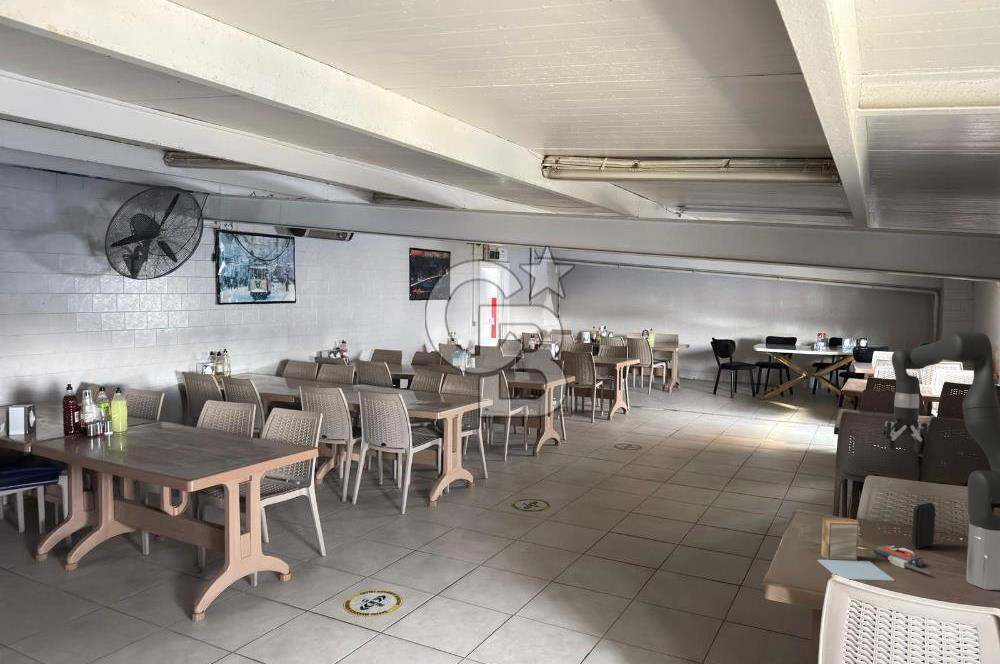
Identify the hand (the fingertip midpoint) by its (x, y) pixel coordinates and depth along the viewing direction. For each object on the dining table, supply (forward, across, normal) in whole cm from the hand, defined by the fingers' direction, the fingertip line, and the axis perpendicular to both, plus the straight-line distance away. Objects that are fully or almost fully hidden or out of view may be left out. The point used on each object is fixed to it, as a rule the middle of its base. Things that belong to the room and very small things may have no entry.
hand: (904, 451), depth 249 cm
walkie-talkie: (+30, -15, -31) cm, 45 cm away
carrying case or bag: (+30, 0, -14) cm, 33 cm away
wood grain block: (+29, -34, -27) cm, 52 cm away
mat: (+29, -34, -38) cm, 58 cm away
